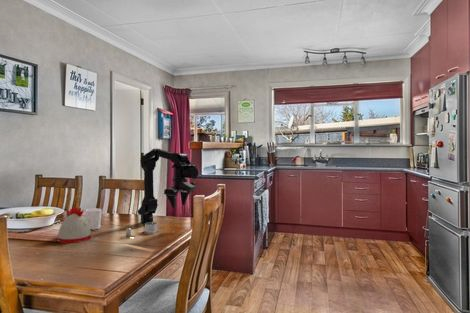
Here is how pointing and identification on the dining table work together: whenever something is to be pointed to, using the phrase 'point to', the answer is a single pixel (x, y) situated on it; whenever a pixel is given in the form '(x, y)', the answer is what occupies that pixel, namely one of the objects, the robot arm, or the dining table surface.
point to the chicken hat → (74, 227)
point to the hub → (128, 234)
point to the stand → (151, 234)
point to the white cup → (93, 218)
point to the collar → (151, 227)
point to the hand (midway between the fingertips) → (178, 206)
